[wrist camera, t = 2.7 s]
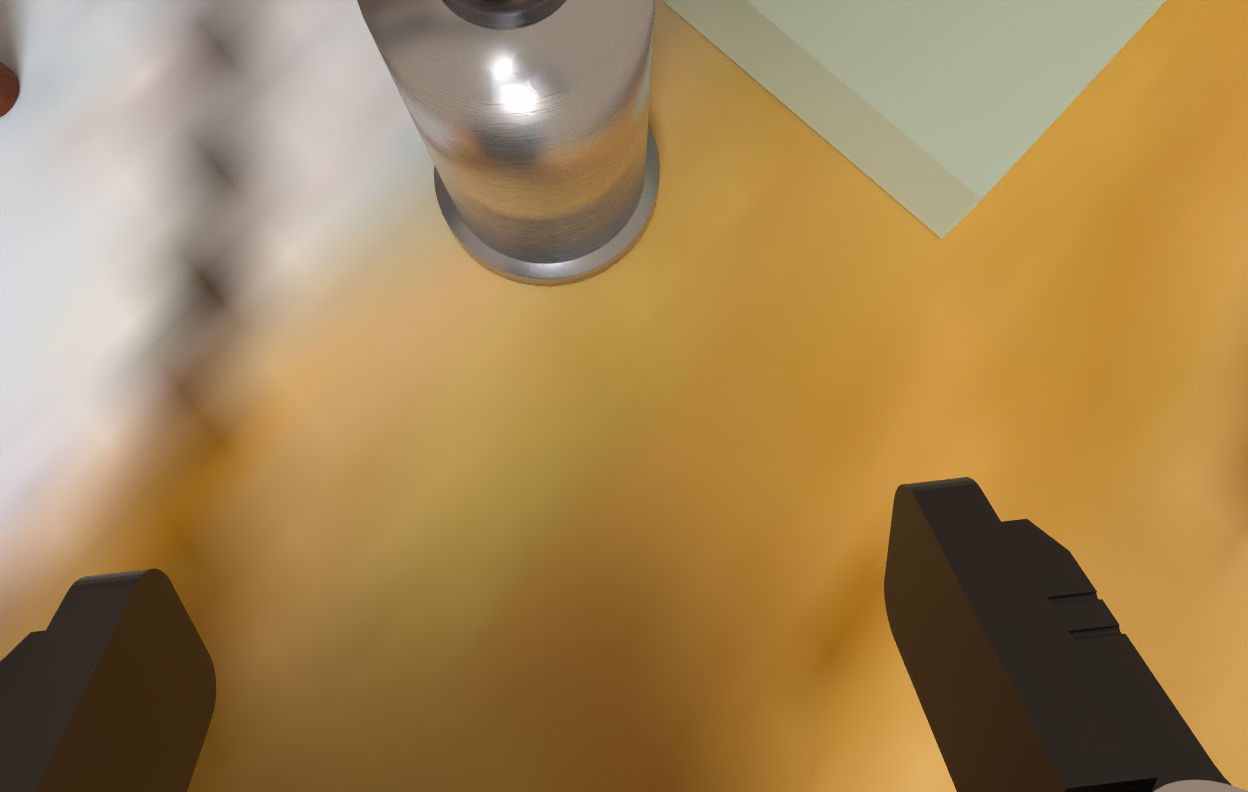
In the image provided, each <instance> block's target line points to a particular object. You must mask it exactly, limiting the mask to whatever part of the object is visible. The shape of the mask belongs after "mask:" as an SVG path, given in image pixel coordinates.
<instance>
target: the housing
mask: <svg viewBox="0 0 1248 792" xmlns="http://www.w3.org/2000/svg"><path fill="white" fill-rule="evenodd" d="M357 1H358V4H359V7H360V9H361V12H362V15H363V18H364V20H365V22H366V24H367V26H368V28H369V30H370V32H371V34H372V36H373V38H374V40H375V42H376V45H377V47H378V49H379V51H380V53H381V55H382V57H383V59H384V61H385V63H386V65H387V67H388V69H389V71H390V73H391V76H392V78H393V80H394V82H395V84H396V86H397V88H398V90H399V92H400V94H401V96H402V98H403V100H404V102H405V104H406V106H407V109H408V111H409V113H410V115H411V117H412V119H413V121H414V123H415V125H416V127H417V129H418V131H419V133H420V135H421V137H422V140H423V142H424V144H425V146H426V148H427V150H428V152H429V154H430V156H431V158H432V160H433V162H434V164H435V165H434V182H435V190H436V195H437V200H438V202H439V205H440V208H441V211H442V214H443V215H444V217H445V219H446V221H447V223H448V225H449V227H450V229H451V231H452V233H453V234H454V236H455V238H456V239H457V240H458V242H459V243H460V245H461V246H462V247H463V248H464V249H465V250H466V251H467V253H468V254H469V255H470V256H471V257H472V258H474V259H475V260H476V261H477V262H478V263H480V264H481V265H482V266H484V267H485V268H487V269H489V270H490V271H492V272H493V273H495V274H497V275H500V276H502V277H504V278H506V279H509V280H512V281H516V282H519V283H523V284H529V285H535V286H557V285H566V284H571V283H576V282H580V281H583V280H585V279H588V278H591V277H594V276H596V275H598V274H600V273H602V272H604V271H605V270H607V269H609V268H610V267H612V266H613V265H614V264H616V263H617V262H619V261H620V260H621V259H622V258H623V257H624V256H625V255H627V254H628V253H629V252H630V250H631V249H632V248H633V247H634V246H635V245H636V243H637V242H638V241H639V239H640V238H641V236H642V235H643V233H644V232H645V230H646V228H647V226H648V224H649V222H650V220H651V218H652V214H653V211H654V208H655V205H656V199H657V194H658V185H659V158H658V151H657V147H656V143H655V139H654V136H653V134H652V131H651V129H650V126H649V125H648V115H649V97H650V79H651V62H652V44H653V26H654V8H655V0H357Z"/></svg>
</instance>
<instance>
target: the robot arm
mask: <svg viewBox="0 0 1248 792" xmlns="http://www.w3.org/2000/svg"><path fill="white" fill-rule="evenodd" d="M1096 592H1097V591H1096V590H1095V588H1094V587H1093V585H1092V584H1091V582H1090V581H1089V579H1088V578H1087V576H1086V575H1085V573H1084V572H1083V571H1082V569H1081V568H1080V566H1079V565H1078V563H1077V562H1076V560H1075V559H1074V557H1073V556H1072V554H1071V553H1070V551H1069V550H1067V549H1066V548H1065V547H1063V546H1062V545H1061V544H1059V543H1058V542H1057V541H1055V540H1054V539H1053V538H1051V537H1050V536H1049V535H1047V534H1046V533H1045V532H1043V531H1042V530H1041V529H1040V528H1038V527H1037V526H1036V525H1034V524H1033V523H1032V522H1030V521H1029V520H1028V519H1021V520H1013V521H1004V522H1001V521H1000V519H999V518H998V516H997V514H996V513H995V511H994V509H993V508H992V506H991V505H990V503H989V501H988V500H987V498H986V496H985V495H984V493H983V492H982V490H981V488H980V487H979V486H978V484H977V483H976V482H975V481H974V480H973V479H971V478H968V477H964V478H955V479H946V480H938V481H929V482H920V483H912V484H903V485H900V486H899V487H898V488H897V490H896V493H895V497H894V504H893V513H892V521H891V529H890V537H889V546H888V554H887V562H886V570H885V579H884V595H885V604H886V611H887V616H888V620H889V624H890V628H891V631H892V634H893V637H894V640H895V642H896V644H897V647H898V649H899V652H900V654H901V657H902V659H903V661H904V664H905V666H906V669H907V671H908V674H909V676H910V679H911V681H912V683H913V686H914V688H915V691H916V693H917V696H918V698H919V700H920V703H921V705H922V708H923V710H924V713H925V715H926V717H927V720H928V722H929V725H930V727H931V730H932V732H933V734H934V737H935V739H936V742H937V744H938V747H939V749H940V752H941V754H942V756H943V759H944V761H945V764H946V766H947V769H948V771H949V773H950V776H951V778H952V781H953V783H954V786H955V788H956V790H957V792H1248V791H1246V790H1243V789H1240V788H1237V787H1234V786H1232V785H1231V784H1230V783H1229V782H1228V781H1227V780H1226V779H1225V778H1224V776H1223V775H1222V774H1221V773H1220V771H1219V770H1218V769H1217V767H1216V766H1215V765H1214V763H1213V762H1212V761H1211V759H1210V758H1209V756H1208V755H1207V753H1206V752H1205V750H1204V749H1203V747H1202V746H1201V744H1200V743H1199V741H1198V740H1197V738H1196V737H1195V736H1194V734H1193V733H1192V731H1191V730H1190V728H1189V727H1188V725H1187V724H1186V722H1185V721H1184V719H1183V718H1182V716H1181V715H1180V713H1179V712H1178V710H1177V709H1176V708H1175V706H1174V705H1173V703H1172V702H1171V700H1170V699H1169V697H1168V696H1167V694H1166V693H1165V691H1164V690H1163V688H1162V687H1161V685H1160V684H1159V682H1158V681H1157V680H1156V678H1155V677H1154V675H1153V674H1152V672H1151V671H1150V669H1149V668H1148V666H1147V665H1146V663H1145V662H1144V660H1143V659H1142V657H1141V656H1140V654H1139V653H1138V652H1137V650H1136V649H1135V647H1134V646H1133V644H1132V643H1131V641H1130V640H1129V638H1128V637H1127V635H1126V634H1121V632H1120V629H1119V624H1118V622H1117V621H1116V619H1115V618H1114V616H1113V615H1112V613H1111V612H1110V610H1109V609H1108V607H1107V606H1106V604H1105V603H1104V601H1103V600H1102V599H1101V600H1099V599H1098V598H1097V595H1096ZM215 699H216V678H215V671H214V666H213V663H212V660H211V658H210V655H209V653H208V651H207V649H206V648H205V646H204V644H203V642H202V640H201V638H200V636H199V634H198V632H197V631H196V629H195V627H194V625H193V623H192V621H191V619H190V617H189V615H188V613H187V612H186V610H185V608H184V606H183V604H182V602H181V600H180V598H179V596H178V594H177V593H176V591H175V589H174V587H173V585H172V583H171V581H170V580H169V578H168V577H167V576H166V574H165V573H164V572H162V571H161V570H158V569H147V570H138V571H129V572H121V573H112V574H103V575H95V576H86V577H83V578H80V579H79V580H77V581H76V582H75V583H74V584H73V585H72V586H71V588H70V589H69V591H68V592H67V594H66V596H65V597H64V599H63V601H62V603H61V605H60V606H59V608H58V610H57V612H56V613H55V615H54V617H53V619H52V621H51V622H50V624H49V626H48V628H47V629H46V631H39V632H31V633H30V634H29V635H28V636H27V637H26V638H25V639H23V640H22V641H21V642H20V643H19V644H18V645H17V646H16V647H15V648H14V649H13V650H12V651H11V652H10V653H9V654H8V655H7V656H6V657H5V658H4V659H3V660H2V661H1V662H0V792H187V790H188V787H189V784H190V781H191V778H192V775H193V772H194V769H195V766H196V763H197V760H198V757H199V754H200V751H201V748H202V745H203V742H204V739H205V736H206V733H207V730H208V727H209V724H210V721H211V718H212V715H213V711H214V706H215Z"/></svg>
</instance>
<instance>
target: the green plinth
mask: <svg viewBox="0 0 1248 792" xmlns="http://www.w3.org/2000/svg"><path fill="white" fill-rule="evenodd" d="M663 1H664V2H665V3H666V4H667V5H668V6H669V7H671V8H672V9H673V10H674V11H675V12H676V13H678V14H679V15H680V16H681V17H682V18H683V19H685V20H686V21H687V22H688V23H689V24H690V25H692V26H693V27H694V28H695V29H696V30H697V31H699V32H700V33H701V34H702V35H703V36H704V37H706V38H707V39H708V40H709V41H710V42H711V43H713V44H714V45H715V46H716V47H717V48H719V49H720V50H721V51H722V52H723V53H724V54H726V55H727V56H728V57H729V58H730V59H731V60H733V61H734V62H735V63H736V64H737V65H738V66H740V67H741V68H742V69H743V70H744V71H745V72H747V73H748V74H749V75H750V76H751V77H752V78H754V79H755V80H756V81H757V82H758V83H759V84H761V85H762V86H763V87H764V88H765V89H766V90H768V91H769V92H770V93H771V94H772V95H773V96H775V97H776V98H777V99H778V100H779V101H781V102H782V103H783V104H784V105H785V106H786V107H788V108H789V109H790V110H791V111H792V112H793V113H795V114H796V115H797V116H798V117H799V118H800V119H802V120H803V121H804V122H805V123H806V124H807V125H809V126H810V127H811V128H812V129H813V130H814V131H816V132H817V133H818V134H819V135H820V136H821V137H823V138H824V139H825V140H826V141H827V142H828V143H830V144H831V145H832V146H833V147H834V148H836V149H837V150H838V151H839V152H840V153H841V154H843V155H844V156H845V157H846V158H847V159H848V160H850V161H851V162H852V163H853V164H854V165H855V166H857V167H858V168H859V169H860V170H861V171H862V172H864V173H865V174H866V175H867V176H868V177H869V178H871V179H872V180H873V181H874V182H875V183H876V184H878V185H879V186H880V187H881V188H882V189H883V190H885V191H886V192H887V193H888V194H889V195H891V196H892V197H893V198H894V199H895V200H896V201H898V202H899V203H900V204H901V205H902V206H903V207H905V208H906V209H907V210H908V211H909V212H910V213H912V214H913V215H914V216H915V217H916V218H917V219H919V220H920V221H921V222H922V223H923V224H924V225H926V226H927V227H928V228H929V229H930V230H931V231H933V232H934V233H935V234H936V235H937V236H938V237H940V238H941V239H942V238H943V237H944V236H945V235H947V234H948V233H949V232H950V231H951V230H952V229H953V228H954V227H955V226H956V225H957V224H958V223H959V222H960V221H961V220H962V219H963V218H964V217H965V216H966V215H967V214H968V213H969V212H970V211H971V210H972V209H973V208H974V207H975V206H976V205H977V204H978V203H979V202H980V201H981V200H982V199H983V198H984V197H985V195H986V194H987V193H988V192H989V191H990V190H991V189H992V188H993V187H994V186H995V185H996V184H997V182H998V181H999V180H1000V179H1001V178H1002V177H1003V176H1004V175H1005V174H1006V173H1007V172H1008V171H1009V170H1010V168H1011V167H1012V166H1013V165H1014V164H1015V163H1016V162H1017V161H1018V160H1019V159H1020V158H1021V157H1022V155H1023V154H1024V153H1025V152H1026V151H1027V150H1028V149H1029V148H1030V147H1031V146H1032V145H1033V144H1034V143H1035V141H1036V140H1037V139H1038V138H1039V137H1040V136H1041V135H1042V134H1043V133H1044V132H1045V131H1046V130H1047V128H1048V127H1049V126H1050V125H1051V124H1052V123H1053V122H1054V121H1055V120H1056V119H1057V118H1058V117H1059V116H1060V114H1061V113H1062V112H1063V111H1064V110H1065V109H1066V108H1067V107H1068V106H1069V105H1070V104H1071V103H1072V101H1073V100H1074V99H1075V98H1076V97H1077V96H1078V95H1079V94H1080V93H1081V92H1082V91H1083V90H1084V89H1085V87H1086V86H1087V85H1088V84H1089V83H1090V82H1091V81H1092V80H1093V79H1094V78H1095V77H1096V76H1097V74H1098V73H1099V72H1100V71H1101V70H1102V69H1103V68H1104V67H1105V66H1106V65H1107V64H1108V63H1109V62H1110V60H1111V59H1112V58H1113V57H1114V56H1115V55H1116V54H1117V53H1118V52H1119V51H1120V50H1121V49H1122V47H1123V46H1124V45H1125V44H1126V43H1127V42H1128V41H1129V40H1130V39H1131V38H1132V37H1133V36H1134V35H1135V33H1136V32H1137V31H1138V30H1139V29H1140V28H1141V27H1142V26H1143V25H1144V24H1145V23H1146V22H1147V20H1148V19H1149V18H1150V17H1151V16H1152V15H1153V14H1154V13H1155V12H1156V11H1157V10H1158V9H1159V8H1160V6H1161V5H1162V4H1163V3H1164V2H1165V1H1166V0H663Z"/></svg>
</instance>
